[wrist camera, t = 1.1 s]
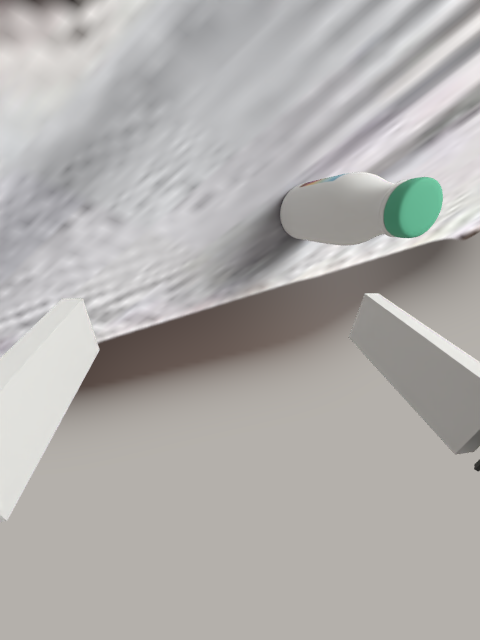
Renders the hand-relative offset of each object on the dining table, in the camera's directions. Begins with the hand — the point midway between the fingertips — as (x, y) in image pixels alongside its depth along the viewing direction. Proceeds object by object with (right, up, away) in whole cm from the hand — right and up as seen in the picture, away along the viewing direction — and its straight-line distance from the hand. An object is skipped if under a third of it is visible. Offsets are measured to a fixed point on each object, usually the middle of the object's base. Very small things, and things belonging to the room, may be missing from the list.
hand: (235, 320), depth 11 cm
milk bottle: (+10, +17, +26) cm, 32 cm away
